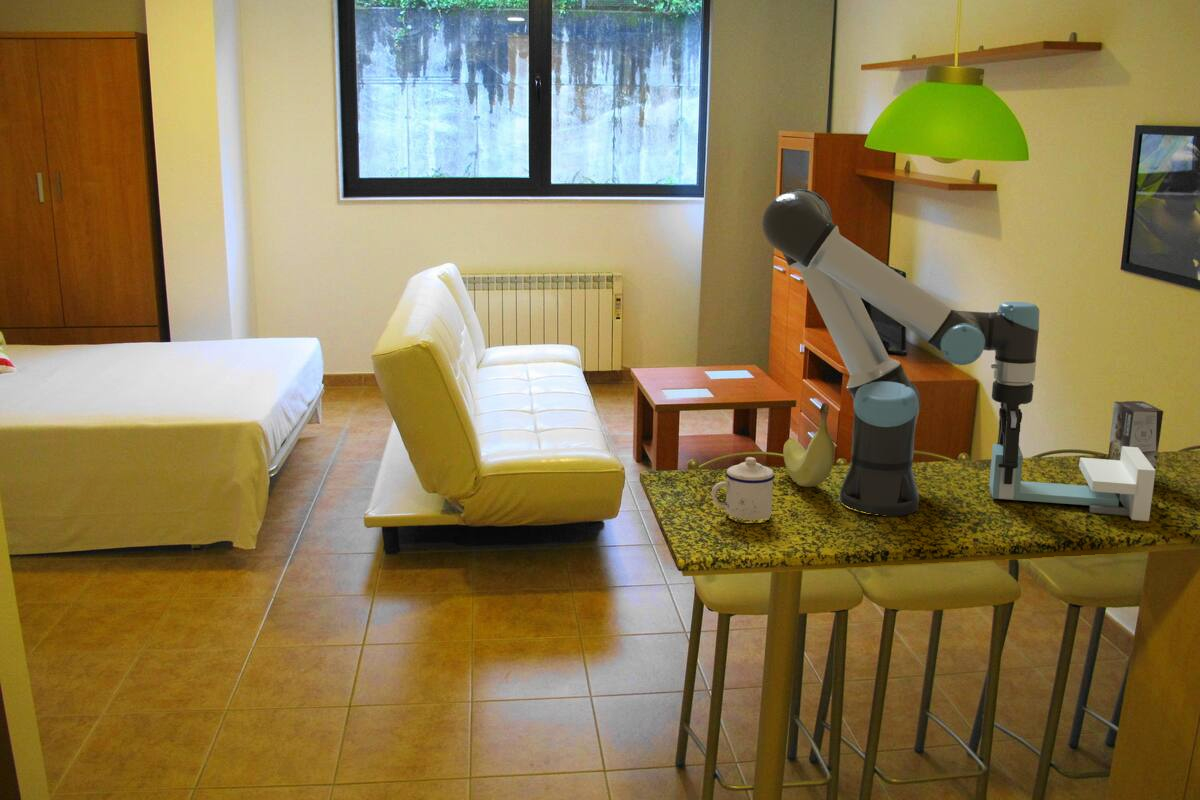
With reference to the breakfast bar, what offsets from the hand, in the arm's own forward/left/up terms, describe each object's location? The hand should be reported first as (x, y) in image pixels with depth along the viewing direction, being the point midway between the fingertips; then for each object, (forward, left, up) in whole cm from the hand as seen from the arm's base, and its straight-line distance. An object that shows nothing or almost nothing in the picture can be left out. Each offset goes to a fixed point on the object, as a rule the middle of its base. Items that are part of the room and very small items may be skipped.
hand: (1003, 491), depth 219 cm
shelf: (+20, 0, -1) cm, 20 cm away
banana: (-39, -4, -1) cm, 39 cm away
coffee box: (+27, +19, -1) cm, 33 cm away
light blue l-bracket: (+9, 0, 0) cm, 9 cm away
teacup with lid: (-49, -27, -1) cm, 56 cm away
